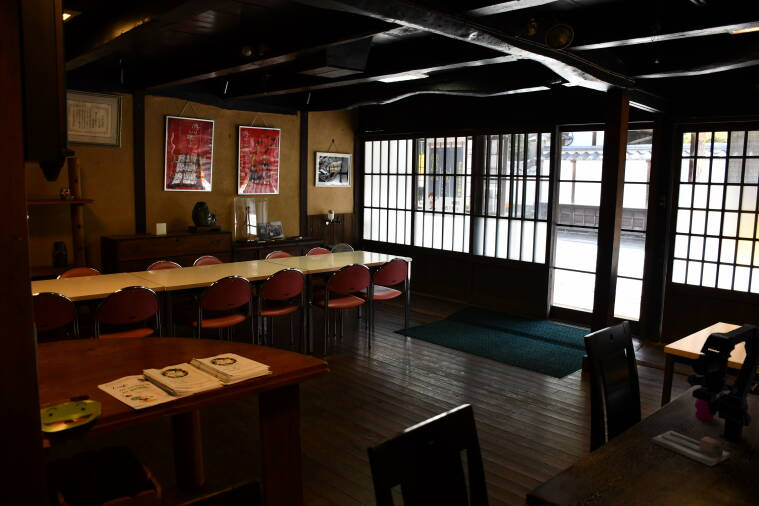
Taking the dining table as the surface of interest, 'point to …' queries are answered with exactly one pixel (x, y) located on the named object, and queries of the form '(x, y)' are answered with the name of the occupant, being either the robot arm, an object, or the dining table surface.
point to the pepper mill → (702, 409)
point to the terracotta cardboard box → (708, 444)
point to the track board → (690, 448)
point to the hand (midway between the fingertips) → (712, 415)
